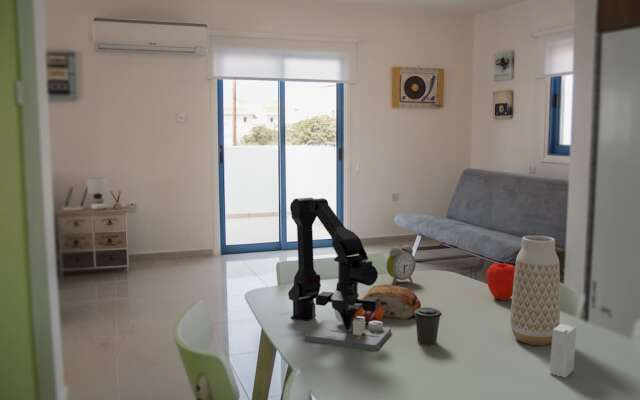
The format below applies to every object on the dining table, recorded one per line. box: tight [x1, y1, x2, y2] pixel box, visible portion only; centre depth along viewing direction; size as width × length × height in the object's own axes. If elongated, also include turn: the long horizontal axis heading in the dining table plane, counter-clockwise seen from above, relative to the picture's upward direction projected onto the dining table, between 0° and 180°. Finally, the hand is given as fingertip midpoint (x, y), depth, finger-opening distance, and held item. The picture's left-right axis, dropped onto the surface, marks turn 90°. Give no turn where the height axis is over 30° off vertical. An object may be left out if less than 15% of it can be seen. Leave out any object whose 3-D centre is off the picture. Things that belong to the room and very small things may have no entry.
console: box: [304, 319, 392, 351], centre depth 185 cm, size 22×16×4 cm
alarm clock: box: [386, 244, 416, 286], centre depth 248 cm, size 12×7×15 cm, turn 123°
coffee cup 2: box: [414, 307, 442, 347], centre depth 180 cm, size 8×8×10 cm
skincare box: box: [549, 323, 577, 379], centre depth 158 cm, size 6×4×12 cm
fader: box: [353, 316, 366, 336], centre depth 182 cm, size 2×4×5 cm, turn 158°
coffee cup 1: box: [334, 305, 384, 324], centre depth 195 cm, size 8×8×15 cm
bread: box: [362, 283, 422, 320], centre depth 210 cm, size 20×18×10 cm
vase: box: [510, 235, 561, 346], centre depth 181 cm, size 14×14×31 cm
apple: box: [486, 262, 515, 301], centre depth 224 cm, size 12×12×13 cm
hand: (347, 329), depth 184 cm, fingers closed
